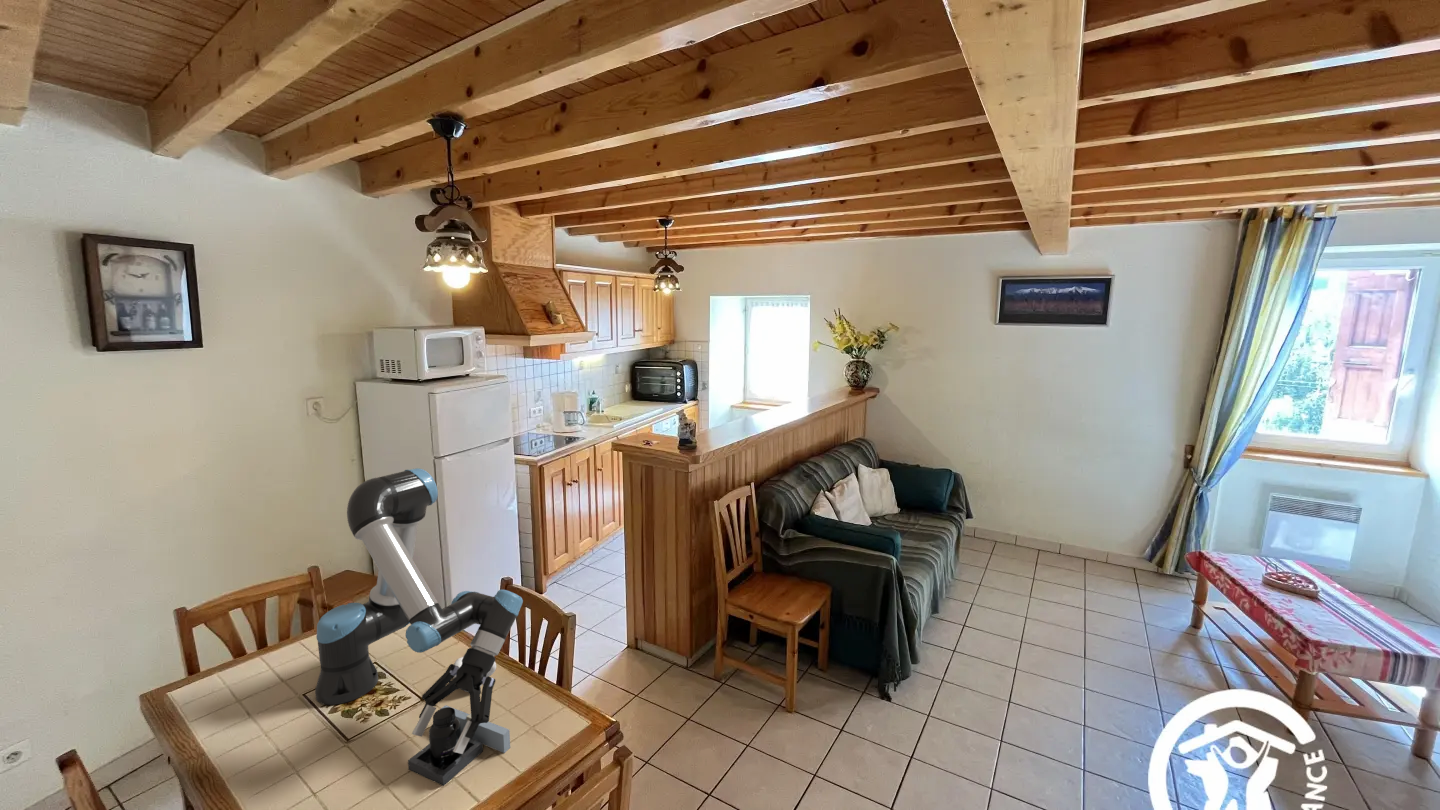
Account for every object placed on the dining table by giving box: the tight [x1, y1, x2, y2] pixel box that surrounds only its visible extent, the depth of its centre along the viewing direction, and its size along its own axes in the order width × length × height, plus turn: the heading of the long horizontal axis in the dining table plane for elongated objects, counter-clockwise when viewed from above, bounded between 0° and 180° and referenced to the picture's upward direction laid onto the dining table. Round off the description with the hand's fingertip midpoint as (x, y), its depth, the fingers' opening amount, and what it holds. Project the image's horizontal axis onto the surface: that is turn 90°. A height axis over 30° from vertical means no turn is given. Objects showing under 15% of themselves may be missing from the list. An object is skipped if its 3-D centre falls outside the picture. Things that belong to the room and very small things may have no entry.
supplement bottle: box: [428, 706, 461, 768], centre depth 135 cm, size 7×7×12 cm
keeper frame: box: [407, 738, 484, 787], centre depth 136 cm, size 12×12×2 cm
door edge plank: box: [440, 704, 511, 754], centre depth 143 cm, size 22×2×6 cm, turn 66°
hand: (436, 744), depth 133 cm, fingers open, 13 cm apart
